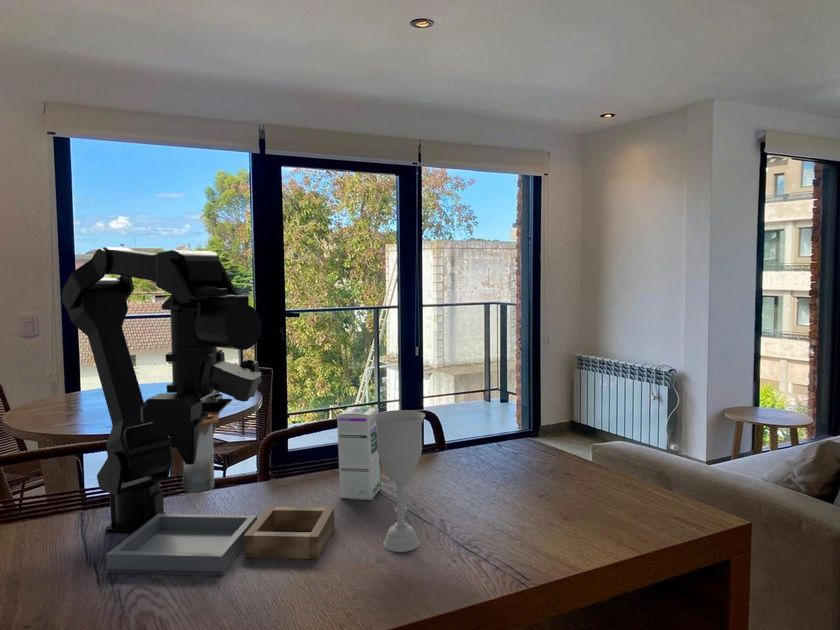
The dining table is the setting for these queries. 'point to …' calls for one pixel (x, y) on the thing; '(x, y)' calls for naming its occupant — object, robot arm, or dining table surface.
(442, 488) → the dining table surface
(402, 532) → the chalice
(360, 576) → the dining table surface
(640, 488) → the dining table surface
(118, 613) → the dining table surface
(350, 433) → the syrup box
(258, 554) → the square wooden frame
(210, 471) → the glass jar
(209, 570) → the tray
